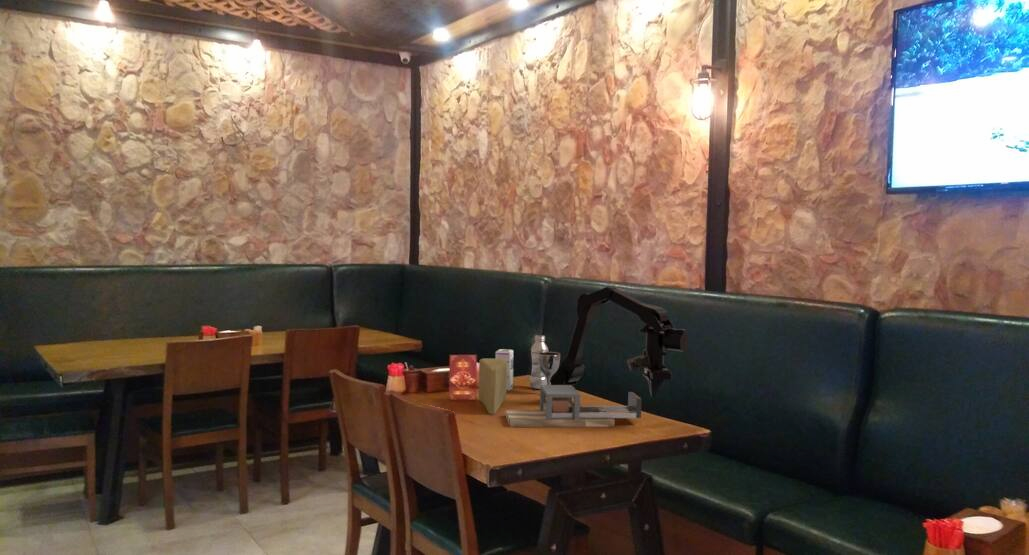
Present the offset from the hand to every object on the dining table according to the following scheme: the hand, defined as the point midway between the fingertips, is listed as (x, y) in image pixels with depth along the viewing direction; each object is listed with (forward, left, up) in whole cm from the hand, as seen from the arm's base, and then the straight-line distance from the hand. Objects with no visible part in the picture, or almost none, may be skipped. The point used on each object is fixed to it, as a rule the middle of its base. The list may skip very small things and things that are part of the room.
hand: (653, 396), depth 250 cm
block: (0, -30, -6) cm, 30 cm away
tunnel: (0, -30, -6) cm, 30 cm away
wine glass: (-40, -27, -8) cm, 49 cm away
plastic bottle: (-50, -29, -8) cm, 58 cm away
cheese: (-20, -49, -8) cm, 53 cm away
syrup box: (-50, -42, -8) cm, 66 cm away
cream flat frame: (0, -30, -8) cm, 31 cm away
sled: (0, -20, -5) cm, 21 cm away
